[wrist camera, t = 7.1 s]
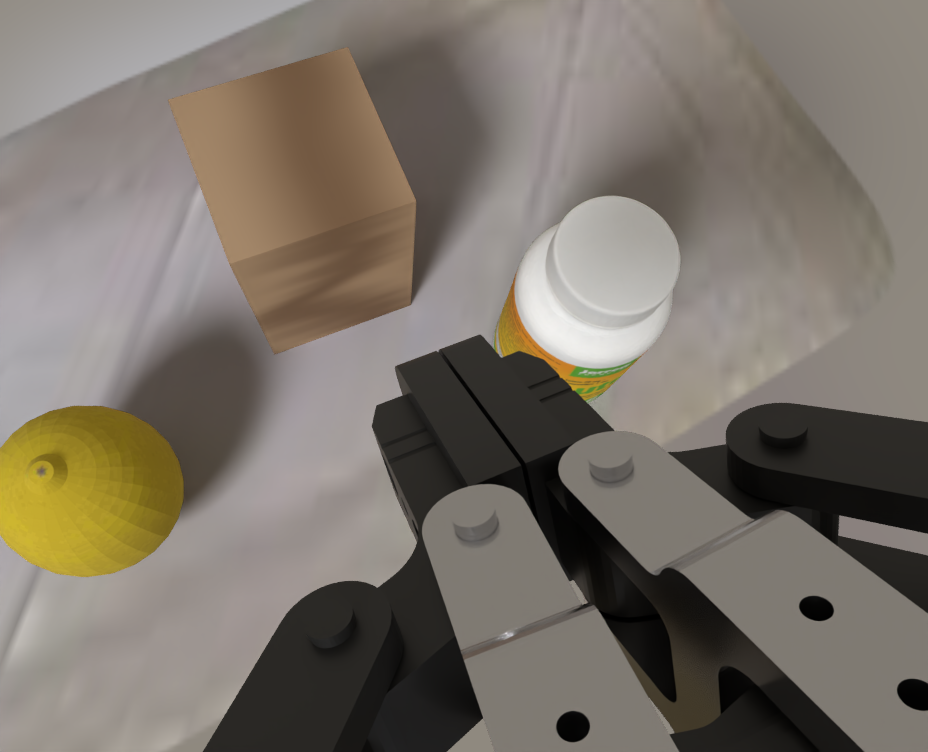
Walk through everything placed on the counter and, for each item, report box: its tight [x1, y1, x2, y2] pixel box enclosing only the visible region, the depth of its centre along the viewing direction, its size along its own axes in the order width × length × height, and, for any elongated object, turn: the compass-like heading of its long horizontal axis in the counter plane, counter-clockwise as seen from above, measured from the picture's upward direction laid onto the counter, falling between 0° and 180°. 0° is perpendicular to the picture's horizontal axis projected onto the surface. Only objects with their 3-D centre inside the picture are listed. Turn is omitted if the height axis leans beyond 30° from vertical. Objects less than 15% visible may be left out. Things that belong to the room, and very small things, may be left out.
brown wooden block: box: [168, 47, 416, 354], centre depth 28 cm, size 6×6×9 cm
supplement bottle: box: [493, 196, 681, 403], centre depth 28 cm, size 5×5×10 cm
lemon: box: [0, 406, 184, 577], centre depth 26 cm, size 6×6×8 cm
